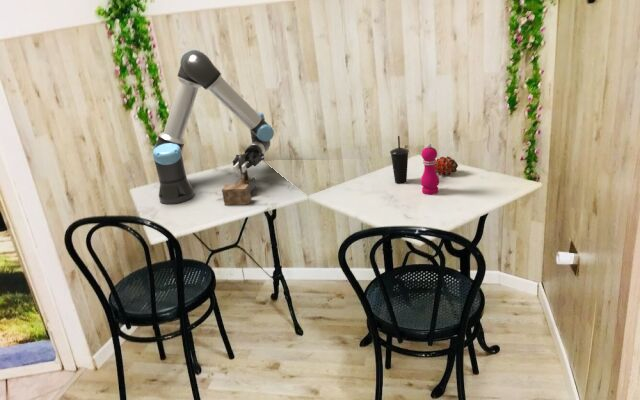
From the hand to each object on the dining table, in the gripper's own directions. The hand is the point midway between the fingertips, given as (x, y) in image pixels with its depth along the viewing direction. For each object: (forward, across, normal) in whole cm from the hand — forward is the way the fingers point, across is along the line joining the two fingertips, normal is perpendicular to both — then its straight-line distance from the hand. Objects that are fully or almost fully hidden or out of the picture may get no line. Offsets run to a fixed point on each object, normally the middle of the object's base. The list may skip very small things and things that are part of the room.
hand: (238, 169), depth 221 cm
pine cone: (-17, -85, -12) cm, 88 cm away
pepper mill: (+2, -79, -12) cm, 80 cm away
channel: (-4, 0, -12) cm, 13 cm away
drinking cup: (-10, -67, -12) cm, 69 cm away
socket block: (+7, 0, -12) cm, 14 cm away
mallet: (+1, 0, -11) cm, 11 cm away
